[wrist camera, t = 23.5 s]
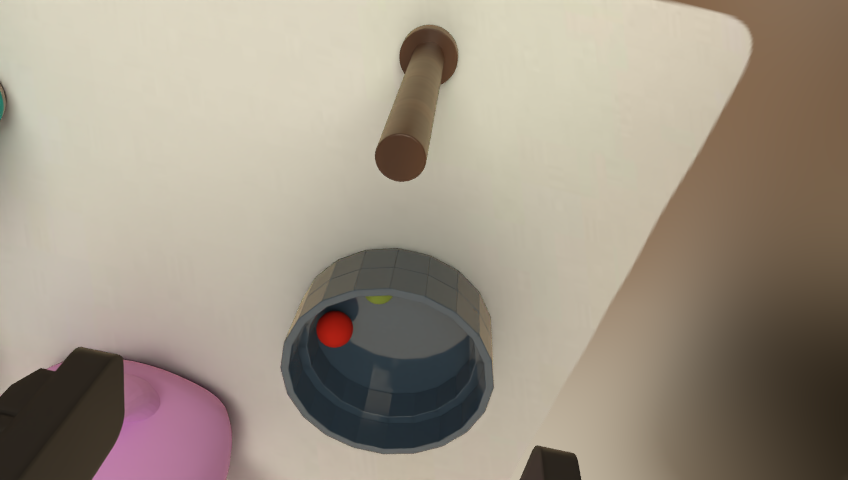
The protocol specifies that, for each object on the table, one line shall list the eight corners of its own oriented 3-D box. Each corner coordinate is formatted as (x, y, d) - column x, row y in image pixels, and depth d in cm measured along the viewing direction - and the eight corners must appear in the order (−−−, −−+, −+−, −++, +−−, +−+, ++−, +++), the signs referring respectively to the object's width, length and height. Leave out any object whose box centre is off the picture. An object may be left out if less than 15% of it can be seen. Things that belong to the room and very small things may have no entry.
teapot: (262, 510, 63) (206, 675, 49) (48, 451, 61) (-71, 606, 48) (316, 336, 52) (262, 488, 39) (57, 258, 50) (-94, 389, 37)
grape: (393, 272, 46) (360, 272, 46) (394, 305, 46) (360, 306, 46) (396, 270, 48) (364, 271, 48) (396, 302, 48) (365, 302, 48)
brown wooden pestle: (463, 31, 40) (456, 124, 24) (450, 87, 41) (435, 209, 26) (407, 18, 39) (361, 103, 24) (396, 75, 41) (348, 190, 25)
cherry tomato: (330, 300, 50) (307, 316, 48) (359, 310, 49) (337, 327, 46) (332, 330, 51) (309, 347, 49) (360, 341, 50) (338, 359, 48)
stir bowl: (514, 269, 47) (519, 317, 42) (464, 415, 55) (463, 471, 50) (314, 225, 47) (294, 267, 42) (291, 378, 54) (271, 431, 49)
